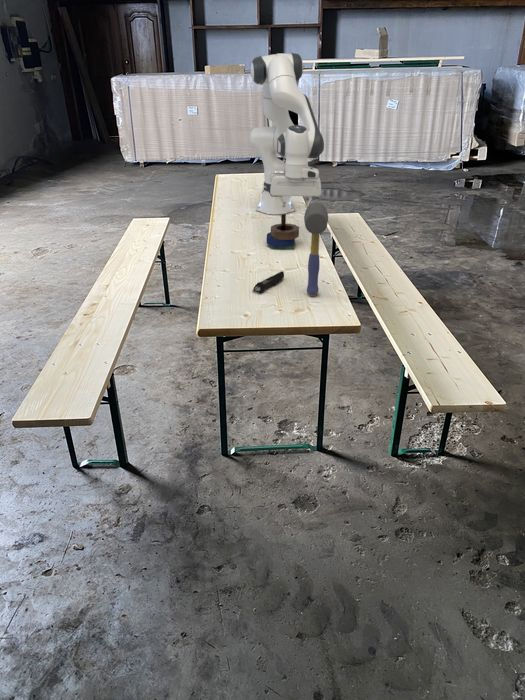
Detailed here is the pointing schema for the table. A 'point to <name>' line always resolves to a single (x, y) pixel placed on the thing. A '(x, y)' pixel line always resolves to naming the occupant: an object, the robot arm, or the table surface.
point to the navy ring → (279, 242)
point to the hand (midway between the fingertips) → (295, 206)
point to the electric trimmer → (268, 282)
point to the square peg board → (283, 227)
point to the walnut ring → (285, 232)
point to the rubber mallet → (314, 242)
